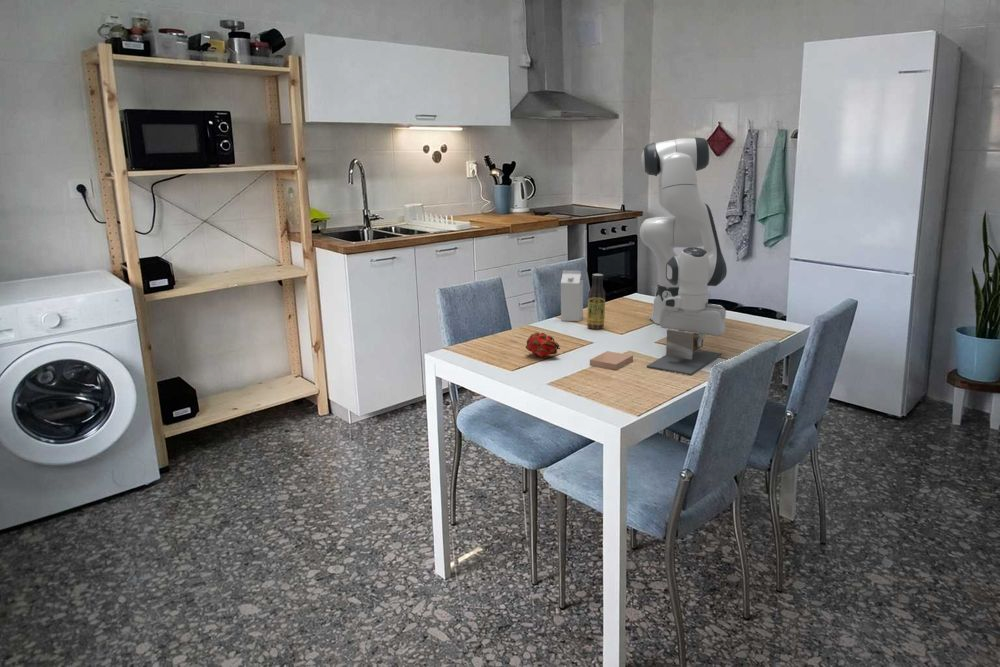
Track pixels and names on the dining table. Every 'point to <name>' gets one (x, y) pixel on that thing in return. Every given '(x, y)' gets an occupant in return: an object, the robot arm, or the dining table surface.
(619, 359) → the tile
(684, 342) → the wooden post on base
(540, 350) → the dragon fruit
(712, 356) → the mat
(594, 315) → the sauce bottle
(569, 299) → the milk carton
